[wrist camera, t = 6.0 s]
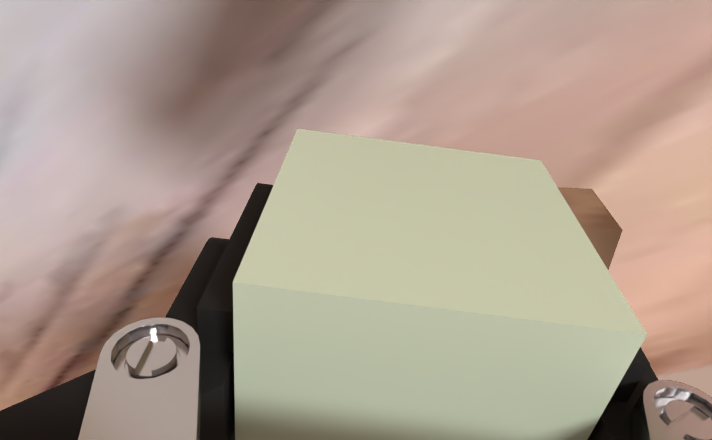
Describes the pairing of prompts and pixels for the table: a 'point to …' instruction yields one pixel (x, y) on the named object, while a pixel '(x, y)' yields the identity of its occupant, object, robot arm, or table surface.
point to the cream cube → (422, 301)
